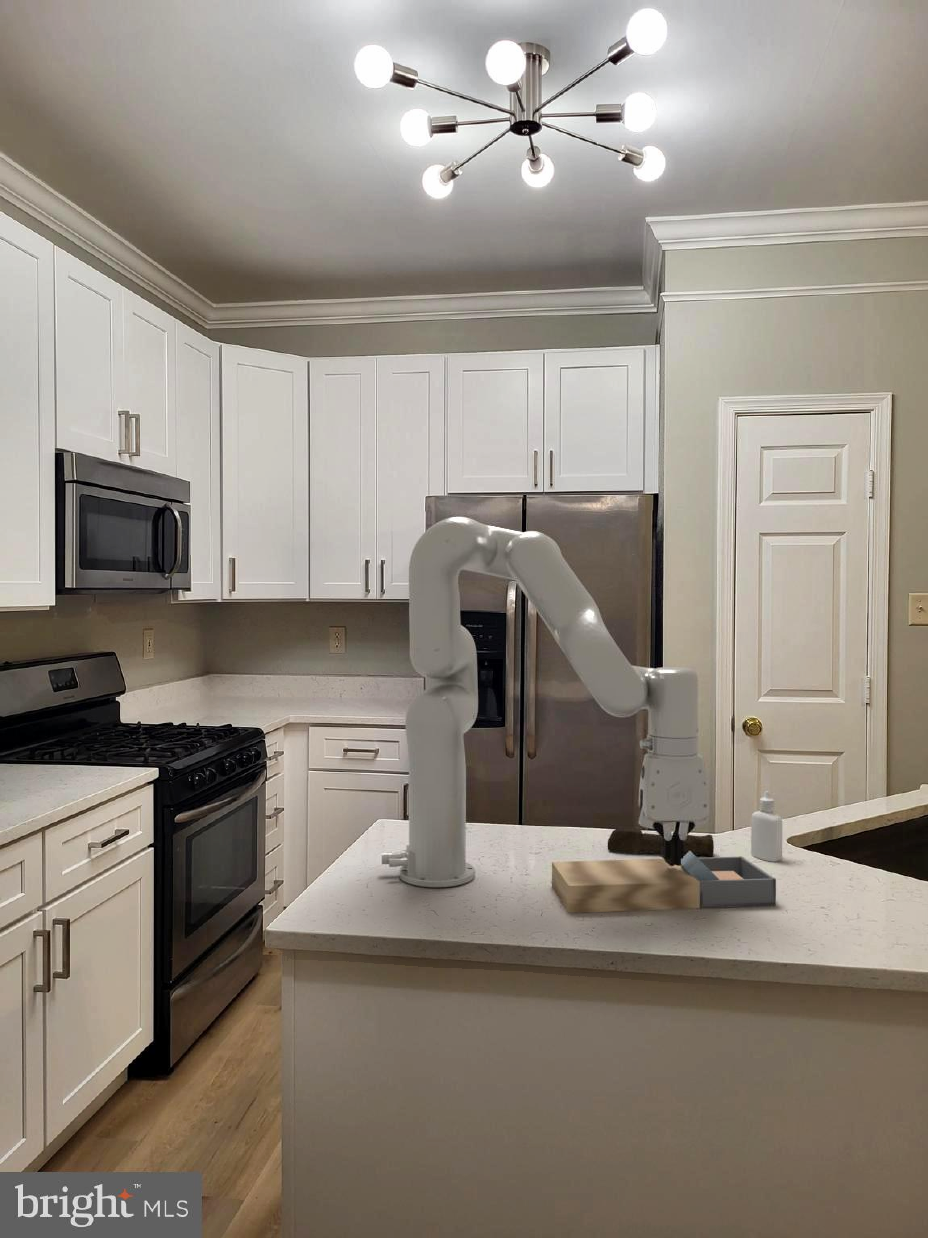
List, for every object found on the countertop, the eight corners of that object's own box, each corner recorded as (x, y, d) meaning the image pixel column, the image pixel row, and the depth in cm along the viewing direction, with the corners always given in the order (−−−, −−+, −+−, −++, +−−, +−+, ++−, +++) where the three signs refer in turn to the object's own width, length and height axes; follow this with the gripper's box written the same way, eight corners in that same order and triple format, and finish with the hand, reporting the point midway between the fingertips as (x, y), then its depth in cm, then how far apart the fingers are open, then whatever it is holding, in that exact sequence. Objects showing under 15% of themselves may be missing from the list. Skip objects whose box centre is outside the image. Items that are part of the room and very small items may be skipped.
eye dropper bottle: (772, 853, 159) (773, 788, 159) (784, 862, 153) (785, 795, 153) (748, 853, 159) (749, 788, 159) (760, 862, 153) (760, 795, 153)
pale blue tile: (687, 871, 133) (699, 859, 133) (678, 861, 137) (689, 850, 137) (708, 891, 133) (719, 879, 133) (698, 881, 138) (709, 869, 138)
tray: (699, 908, 130) (699, 881, 130) (671, 883, 142) (671, 858, 142) (775, 905, 131) (775, 879, 131) (741, 880, 143) (742, 856, 143)
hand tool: (712, 854, 159) (712, 829, 159) (714, 860, 156) (714, 834, 156) (608, 849, 163) (608, 824, 163) (608, 855, 159) (608, 829, 159)
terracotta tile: (744, 879, 134) (744, 895, 134) (733, 871, 138) (733, 886, 138) (716, 880, 134) (716, 896, 134) (705, 871, 138) (705, 887, 138)
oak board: (568, 913, 128) (569, 886, 127) (551, 886, 139) (551, 862, 139) (699, 908, 130) (699, 881, 130) (671, 883, 142) (671, 858, 142)
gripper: (633, 751, 131) (633, 872, 131) (728, 749, 132) (728, 869, 132) (619, 743, 138) (619, 858, 138) (709, 742, 140) (709, 855, 140)
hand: (672, 863), depth 135 cm, fingers closed
